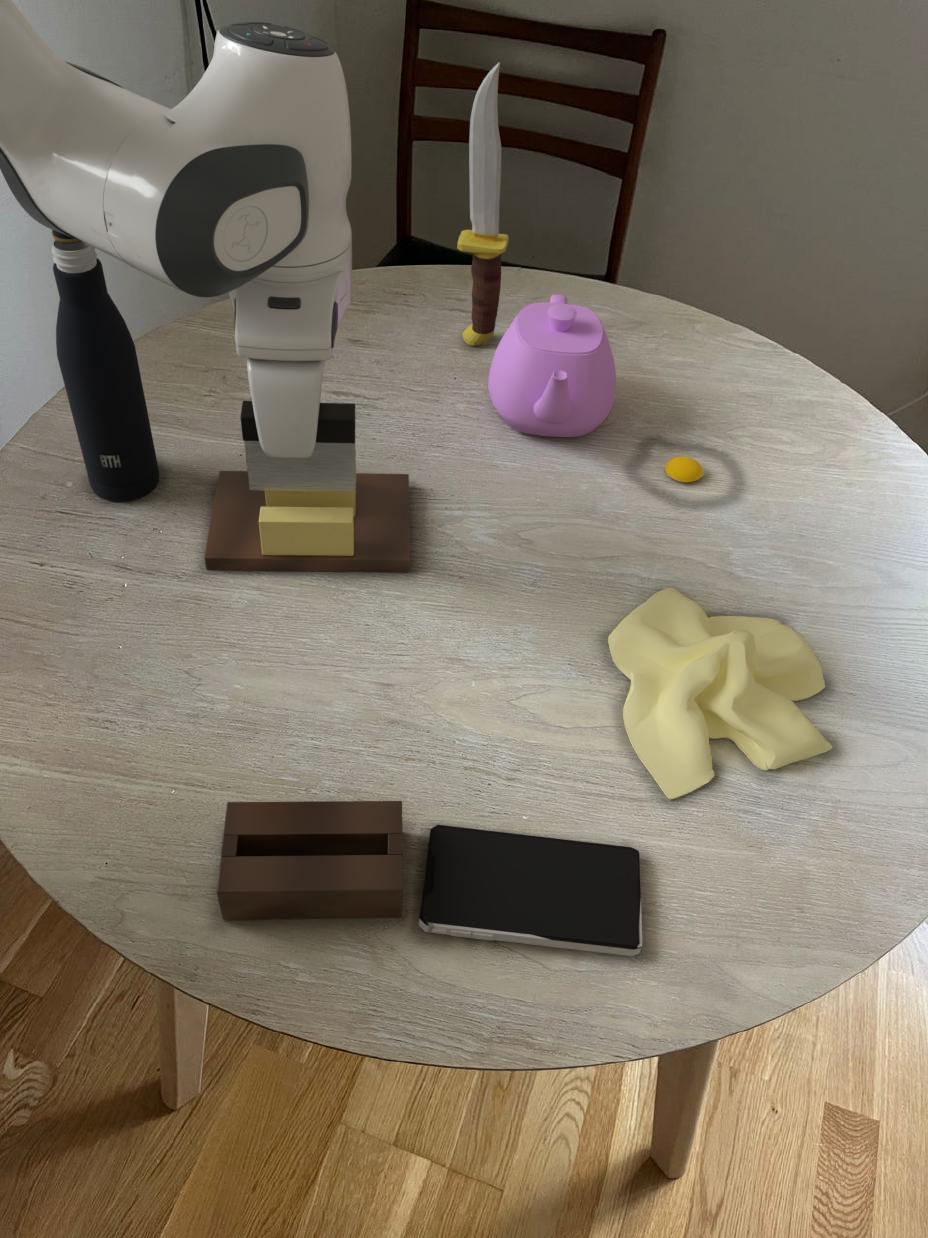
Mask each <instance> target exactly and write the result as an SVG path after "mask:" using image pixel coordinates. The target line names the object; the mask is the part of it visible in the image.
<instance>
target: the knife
mask: <svg viewBox="0 0 928 1238" xmlns="http://www.w3.org/2000/svg"><path fill="white" fill-rule="evenodd" d="M500 67H501V62H500V61H499V62H498V63H496V64H495V65H494V66H493V67H492V68H491V69H490V70H489V72H488V73H487V75H486V76H485V77H484V78H483V80H482V82H481V84H480V86H479V87H478V89H477V91H476V94H475V97H474V100H473V103H472V109H471V112H470V113H471V114H470V121H469V138H468V139H469V141H468V143H469V144H468V146H469V148H468V149H469V150H468V151H469V152H468V153H469V155H468V157H469V159H468V160H469V162H468V163H469V167H468V169H469V218H470V219H469V220H470V222H471V229H464V230H461V231H460V235H458V240H457V244H456V245H457V250H459V251H460V252H467V253H471V254H472V262H471V269H470V271H471V272H470V275H471V278H472V288H471V307H472V308H471V322H472V323H471V324H470V325H469V326H468V327H466V328H465V330H463V332H462V337H463V340H464V342H465V343H466V344H467V345H469V346H475V347H476V346H480V345H483V344H485V343H486V342H488V341H489V340H490V339H492V338H493V336H494V335H495V329H496V321H497V317H498V311H499V302H500V294H501V284H502V254H503V253H505V252H506V251H507V248H508V246H509V242H510V237H509V235H508V234H504V233H500V205H501V204H500V203H501V202H500V201H501V199H500V198H501V180H502V178H501V177H502V143H501V136H500V129H499V114H498V113H499V112H498V111H499V109H498V96H499V95H498V91H499V77H500Z"/></svg>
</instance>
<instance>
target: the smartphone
mask: <svg viewBox="0 0 928 1238" xmlns="http://www.w3.org/2000/svg"><path fill="white" fill-rule="evenodd" d="M640 855H641V853H640V851H639V850H638V849H636V848H634V847H632V846H624V845H616V844H607V843H598V842H592V841H591V842H590V841H581V840H574V839H564V838H556V837H549V836H539V835H531V834H521V833H515V832H513V833H512V832H505V831H496V830H491V829H484V828H483V829H481V828H473V827H465V826H453V825H446V824H436V825H435V826H433V827H432V828H430V829H429V837H428V846H427V853H426V862H425V868H424V869H425V870H424V878H423V884H422V894H421V901H420V908H419V916H418V927H420V929H422V931H423V932H424V933H431V934H440V935H448V936H451V937H458V938H459V937H460V938H467V939H477V940H483V941H484V940H485V941H499V942H509V943H516V944H524V945H532V946H534V945H535V946H542V947H548V948H549V947H551V948H559V949H566V950H567V949H568V950H576V951H584V952H592V953H599V954H600V953H601V954H610V955H616V956H617V955H618V956H627V957H634V956H636V955H639V954H640V952H641V950H642V947H643V923H642V919H643V917H642V888H641V857H640Z"/></svg>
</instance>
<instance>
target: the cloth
mask: <svg viewBox="0 0 928 1238" xmlns="http://www.w3.org/2000/svg"><path fill="white" fill-rule="evenodd" d="M607 645H608V648H609V653H610V656H611V659H612V662H613V664H614V665H615V666H616V667H617V669H618V671H620V672H621V673H622V674H623V675H624V676H625V677H627V679H629V680H630V687H629V690H628V694H627V696H626V698H625V702H624V703H623V704H624V705H623V708H622V718H623V725H624V728H625V731H626V735H627V737H628V739H629V741H630V745H631V746H632V748H633V749H634V752H635V753H636V755H637V757H638V759H639V760H640V761H641V763H642V765H643V766H644V768H645V769H646V770H647V771H648V772H649V774H650V775H651V777H652V778H653V779H654V781H655V782H656V784H657V786H658V787H659V788H660V789H661V791H662V792H663V793H664V795H665V796H666V798H667V799H668V800H675V799H678V798H680V797H683V796H685V795H687V794H691V793H692V792H694V791H696V790H698V789H700V788H702V787H703V786H705V785H707V784H708V783H710V782H711V781H712V779H713V778H714V777H715V771H714V770H713V756H712V751H711V746H710V740H711V739H712V740H713V739H714V740H716V739H728V740H730V741H732V742H734V744H735V745H736V747H737V748H738V749H739V750H740V751H741V752H742V754H744V755H745V756H746V758H748V760H749V761H750V762H751V764H753V766H755V767H756V768H757V769H759V770H760V771H769V770H776V769H779V768H782V767H784V766H787V765H790V764H792V763H796V762H799V761H803V760H806V759H809V758H812V757H815V756H819V755H822V754H824V753H826V752H829V751H830V750H832V749H833V745H832V744H831V743H830V742H829V741H828V740H827V739H826V738H825V736H823V734H822V733H821V732H820V731H819V729H818V728H817V727H816V726H815V725H814V724H813V723H812V722H811V720H810V719H809V718H808V717H807V716H806V715H805V714H804V713H803V712H802V711H801V709H800V708H799V707H798V706H797V705H796V704H795V702H796V701H802V700H806V699H810V698H812V697H813V696H815V695H817V694H819V693H820V692H821V691H823V690H824V689H825V688H826V681H825V678H824V673H823V669H822V664H821V662H820V661H819V659H818V657H817V655H816V654H815V651H814V650H813V649H812V648H811V646H810V645H809V644H808V642H807V641H806V640H805V639H804V638H803V637H802V636H801V635H800V634H798V633H797V632H796V631H795V630H794V629H793V628H791V627H790V626H789V625H786V624H782V622H781V621H780V620H778V619H776V618H770V617H760V616H759V617H758V616H742V615H740V616H739V615H716V616H709V617H708V615H707V614H706V611H705V610H704V609H703V608H702V607H701V606H700V604H698V602H696V601H694V600H692V599H690V597H687V596H685V595H684V594H682V593H681V592H679V591H678V590H677V589H675V588H674V587H666V588H664V589H662V590H659V591H657V592H655V593H653V594H652V595H651V596H650V597H649V598H648V599H646V600H645V601H644V602H642V603H641V604H640V605H638V606H637V607H635V608H634V609H633V610H631V611H630V612H629V613H628V614H627V615H626V616H625V617H624V618H623V619H622V620H621V621H620V622H619V623H618V625H617V626H615V628H614V629H613V630H612V632H611V633H610V634H609V635H608V638H607ZM794 701H795V702H794Z"/></svg>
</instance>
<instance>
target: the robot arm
mask: <svg viewBox="0 0 928 1238" xmlns="http://www.w3.org/2000/svg"><path fill="white" fill-rule="evenodd" d="M213 45H214V47H213V55H212V57H211V61H210V63H209V64H208V67H207V68H206V70H205V71H204V73H203V75H202V77H201V78H200V79H199V81H198V82H197V84H196V85H195V86H194V87H193V88H192V90H191V91H190V92H189V93H188V94H187V95H186V96H185V97H184V99H182V100H181V101H180V102H179V103H178V104H176V105H175V106H173V107H172V108H169V107H167V106H164V105H162V104H160V103H158V102H156V101H153V100H151V99H149V98H146V97H144V96H142V95H139V94H137V93H135V92H133V91H130V90H128V89H126V88H124V87H123V86H121V85H120V84H118V83H116V82H114V81H112V80H110V79H108V78H106V77H105V76H102V75H100V74H99V73H97V72H95V71H92V70H90V69H87V68H85V67H83V66H80V65H78V64H74V63H72V62H69V61H66V60H63V59H62V58H61V57H59V56H58V54H56V53H55V52H54V51H53V50H52V48H51V47H50V46H49V45H48V44H47V42H46V41H45V40H44V39H43V37H42V36H41V35H40V34H39V33H38V31H37V30H36V29H35V27H33V25H32V24H31V23H30V21H29V20H28V19H27V17H26V16H25V15H24V14H23V13H22V12H21V10H20V9H19V8H18V6H17V5H16V4H15V3H14V2H13V0H0V172H1V174H2V176H3V179H4V180H5V182H6V184H7V186H8V187H9V190H10V192H11V193H12V195H13V197H14V198H15V200H16V201H17V203H18V204H19V205H20V207H21V208H22V209H23V210H24V212H25V213H26V214H28V215H29V216H30V217H31V218H32V219H33V220H34V221H36V222H37V223H39V224H41V225H42V226H43V227H45V228H47V229H50V230H51V231H52V230H55V231H57V232H59V233H62V234H64V235H67V236H69V237H72V238H74V239H77V240H80V241H83V242H85V243H87V244H89V245H91V246H93V247H95V249H97V250H99V251H101V252H103V253H104V254H107V255H109V256H110V257H112V258H114V259H116V260H118V261H120V262H122V263H124V264H126V265H128V266H130V267H132V268H133V269H135V270H137V271H139V272H141V273H143V274H146V275H148V276H150V277H152V278H154V279H156V280H157V281H160V282H161V283H163V284H165V285H167V286H169V287H171V288H173V289H175V290H177V291H180V292H184V293H185V294H187V295H191V296H193V297H198V298H214V297H219V296H222V295H225V294H227V293H228V295H229V299H230V302H231V305H232V306H231V307H232V310H233V314H234V319H233V321H234V323H233V327H234V328H233V330H234V342H235V343H234V344H235V351H236V355H237V356H238V358H242V359H243V358H244V359H246V369H247V378H248V379H247V380H248V386H249V393H250V398H251V401H252V404H253V410H254V416H255V421H256V427H257V432H258V437H259V441H260V445H261V447H262V449H263V451H264V452H265V454H266V455H268V456H270V457H284V458H306V457H310V456H311V455H312V454H313V451H314V448H315V443H316V436H317V427H318V417H319V407H320V403H321V395H322V387H323V377H324V371H325V366H326V361H329V360H331V358H332V356H333V349H334V348H335V342H336V341H335V340H336V335H337V332H338V327H339V326H340V323H341V321H342V319H343V317H344V314H345V311H346V310H347V309H348V308H349V306H350V305H351V303H352V299H353V232H352V226H351V222H350V219H349V216H348V211H347V196H348V193H349V189H350V186H351V182H352V172H353V171H352V170H353V169H352V166H353V165H352V164H353V163H352V161H353V160H352V158H353V157H352V129H351V127H352V126H351V114H350V113H351V112H350V104H349V95H348V87H347V82H346V78H345V73H344V70H343V67H342V63H341V61H340V58H339V55H338V54H337V52H336V51H335V50H334V49H333V47H331V46H330V45H329V43H327V42H326V41H325V40H322V39H320V38H318V37H317V36H314V35H311V34H310V33H307V32H305V31H302V30H299V29H296V28H293V27H290V26H287V25H280V24H274V23H271V22H265V21H252V20H251V21H237V22H232V23H230V24H227V25H224V26H222V27H221V28H219V29H218V30H217V32H216V35H215V40H214V44H213Z"/></svg>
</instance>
